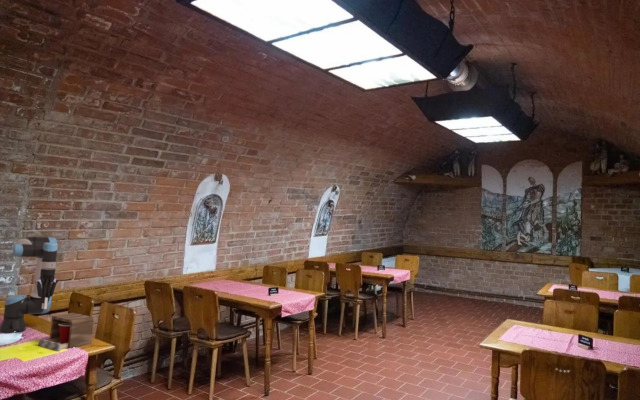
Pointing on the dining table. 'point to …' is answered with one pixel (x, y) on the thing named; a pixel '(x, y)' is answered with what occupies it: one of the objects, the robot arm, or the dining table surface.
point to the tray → (52, 344)
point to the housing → (74, 328)
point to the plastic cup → (64, 332)
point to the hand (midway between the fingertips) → (44, 308)
